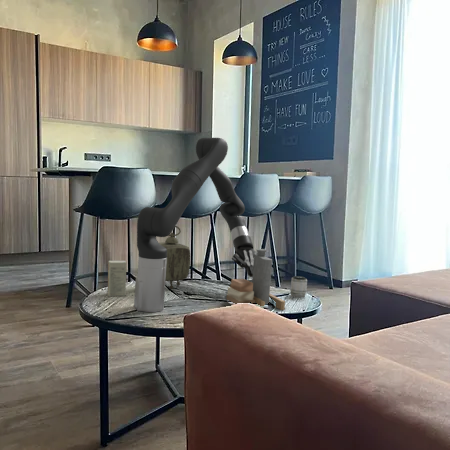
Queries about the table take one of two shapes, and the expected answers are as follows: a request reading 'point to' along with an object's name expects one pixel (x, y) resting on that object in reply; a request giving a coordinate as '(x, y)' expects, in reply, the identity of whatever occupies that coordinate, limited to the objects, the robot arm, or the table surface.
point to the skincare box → (116, 278)
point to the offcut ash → (240, 294)
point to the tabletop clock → (176, 259)
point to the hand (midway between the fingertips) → (252, 275)
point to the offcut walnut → (239, 301)
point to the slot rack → (279, 302)
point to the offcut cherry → (241, 285)
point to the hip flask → (261, 275)
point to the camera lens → (298, 286)
